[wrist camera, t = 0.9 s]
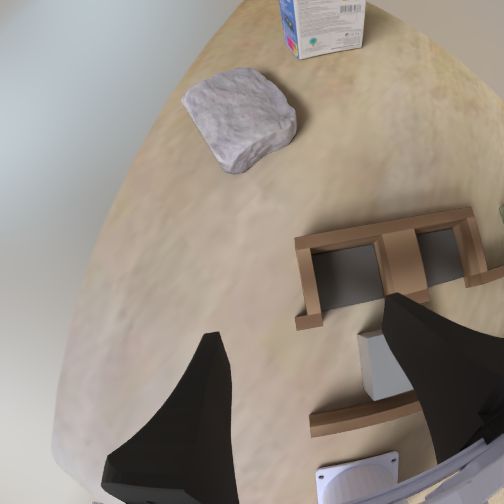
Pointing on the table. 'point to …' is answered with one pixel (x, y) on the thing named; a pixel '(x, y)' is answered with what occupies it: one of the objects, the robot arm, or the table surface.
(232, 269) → the table surface
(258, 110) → the stone block
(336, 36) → the ink cartridge box
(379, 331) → the slate block
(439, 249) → the box
